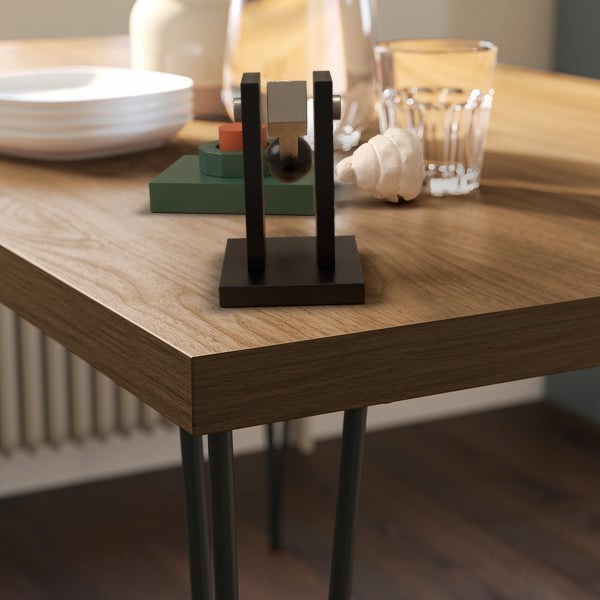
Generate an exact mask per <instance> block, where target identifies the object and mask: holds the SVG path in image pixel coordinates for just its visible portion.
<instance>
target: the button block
mask: <svg viewBox="0 0 600 600" xmlns="http://www.w3.org/2000/svg"><path fill="white" fill-rule="evenodd" d="M274 139H275V138H270V137H267V146H269V144H270V143H271V142H272V141H273V140H274ZM266 149H267V148H264V149H263V166H264V196H265V215H285V216H287V215H291V216H293V215H294V216H297V215H298V216H315V172H314V159H313V165H312V168H311V171H310V172H309V174H308V175H307V176H306V177H305V178H303V179H302V180H300V181H298V182H295V183H283V182H280V181H278V180H276V179H275V178H274V177H272V176H271V174H270V173H269V172H268V170H267V168H266V165H265V152H266ZM313 158H314V155H313ZM148 193H149V194H148V195H149V208H150V210H149V211H150V213H178V214H179V213H180V214H230V215H231V214H232V215H233V214H235V215H236V214H237V215H240V214H241V215H245V193H244V168H243V151H227V150H221V149H219V139H215V140H210V141H206V142H203V143H202V144H201V145H199V146H198V155H197V154H183V155H182V156H181V157H179V158H178V159H176V160H175V161H174V162H173V163H172V164H171V165H169V166H168V167H166V168H165V170H163V171H162V172H161V173H159V174H158V175H157V176H155V177H154V178H153V179H152V180H150V181H149V182H148Z"/></svg>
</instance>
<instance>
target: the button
mask: <svg viewBox="0 0 600 600" xmlns="http://www.w3.org/2000/svg"><path fill="white" fill-rule="evenodd" d="M262 137H263V149H264V148H267V147H268V146H267V138H268V125H267V124H265V123H262ZM218 140H219V149H221V150H227V151H243V142H242V123H235V122H230V123H226V124H222V125H219V126H218Z"/></svg>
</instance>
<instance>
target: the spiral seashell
mask: <svg viewBox="0 0 600 600" xmlns="http://www.w3.org/2000/svg"><path fill="white" fill-rule="evenodd" d="M424 163H425V161H424V151H423V146H422V141H421V139H420V137H419V135H418V134H417V133H416V132H412V131H408V130H406V129H405V128H402V127H395V126H394V127H389V128H387V129H386V130H385V131H384V132H383V134H376V135H375V136H373V137H370V139H369V140H368V141H367V142H365V143H362V144H361V145H360V146H358V147H357V148H356V149H355V150H354V151H353V153H352V155H350V156H347V157H345V158H343V159H342V160H340V161H339V162H338V163H337V164H336V166H334V174H335V176H336V177H337V180H339V181H340V182H343V183H346V184H352V185H355V186H356V187H357V188H360V189H362V190H363V191H364V192H365V191H367V192H369V193H370V195H371V196H372V197H374V198H376V199H379V200H383V199H385V200H386V201H388V202H391V203H398V202H399V197H400V198H401V199H403V200H405V201H411V200H414V199H416V198H417V197H418V195H419V194H420V193H421V191H422V187H423V184H424V183H423V182H424V175H425V174H424V173H425V172H424V171H425V165H424ZM398 196H399V197H398Z"/></svg>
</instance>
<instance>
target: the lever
mask: <svg viewBox="0 0 600 600" xmlns="http://www.w3.org/2000/svg"><path fill="white" fill-rule="evenodd" d="M307 87H308V85H307V80H306V79H302V80H301V79H297V80H295V79H294V80H291V79H290V80H266V117H267V119H266V120H267V121H266V122H267V133H268V138H270V137H274V138H273V139H274V140H273V141H272V142H271V143H270V144H269V146H268V147H267V149H266V152H265V165H266V168H267V170H268V172H269V173H270V174H271V176H272V177H274V178H275V179H276V180H278V181H280V182H283V183H295V182H298V181H300V180H302V179H303V178H305V177H306V176H307V175H308V174H309V172H310V171H311V168H312V165H313V159H314V158H313V156H314V151H313V148H312V147H311V145H310V144H309V142H308V141H307V140H306V139H305V138H303V137H305V136H308V120H309V119H308V90H307V89H308V88H307Z"/></svg>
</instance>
